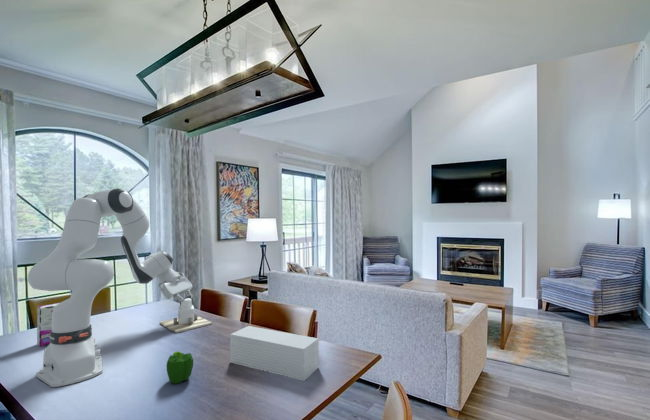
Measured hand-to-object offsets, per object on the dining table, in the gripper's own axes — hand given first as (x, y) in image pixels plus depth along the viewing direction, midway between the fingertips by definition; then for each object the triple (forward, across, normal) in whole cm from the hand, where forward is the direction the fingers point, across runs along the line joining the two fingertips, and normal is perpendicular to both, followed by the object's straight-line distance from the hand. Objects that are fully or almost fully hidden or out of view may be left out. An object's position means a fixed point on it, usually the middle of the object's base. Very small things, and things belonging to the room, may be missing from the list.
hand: (187, 299), depth 166 cm
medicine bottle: (+8, 0, +8) cm, 12 cm away
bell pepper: (+29, -55, -12) cm, 63 cm away
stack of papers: (+50, -40, -31) cm, 71 cm away
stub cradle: (+8, 0, +9) cm, 13 cm away
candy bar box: (-22, -30, +40) cm, 55 cm away
